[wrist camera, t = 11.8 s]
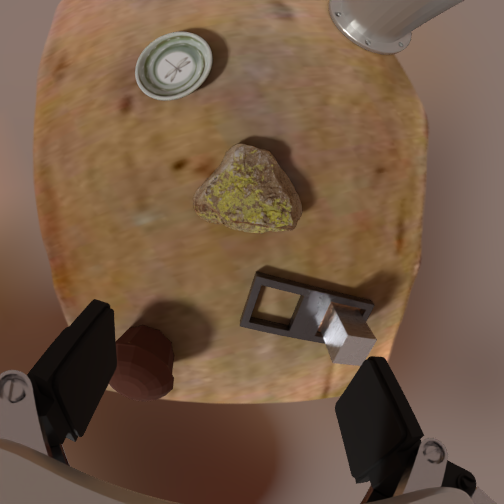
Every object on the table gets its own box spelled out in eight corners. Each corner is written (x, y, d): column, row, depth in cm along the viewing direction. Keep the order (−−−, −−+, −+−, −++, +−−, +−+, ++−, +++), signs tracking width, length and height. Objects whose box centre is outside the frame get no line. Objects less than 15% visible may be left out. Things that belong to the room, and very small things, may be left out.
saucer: (168, 29, 25) (163, 22, 23) (230, 54, 27) (228, 47, 25) (128, 87, 28) (120, 83, 25) (186, 115, 30) (182, 112, 27)
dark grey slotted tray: (256, 271, 36) (256, 276, 35) (370, 300, 38) (374, 305, 36) (240, 320, 39) (239, 326, 37) (348, 342, 40) (351, 347, 39)
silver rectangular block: (331, 302, 38) (347, 335, 30) (357, 308, 38) (376, 339, 30) (319, 327, 39) (332, 362, 31) (344, 332, 39) (361, 365, 32)
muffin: (177, 321, 39) (160, 366, 29) (186, 373, 42) (175, 418, 33) (109, 315, 39) (81, 353, 29) (124, 366, 42) (105, 405, 33)
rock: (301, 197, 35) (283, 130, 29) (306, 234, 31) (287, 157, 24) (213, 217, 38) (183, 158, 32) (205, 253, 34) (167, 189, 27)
